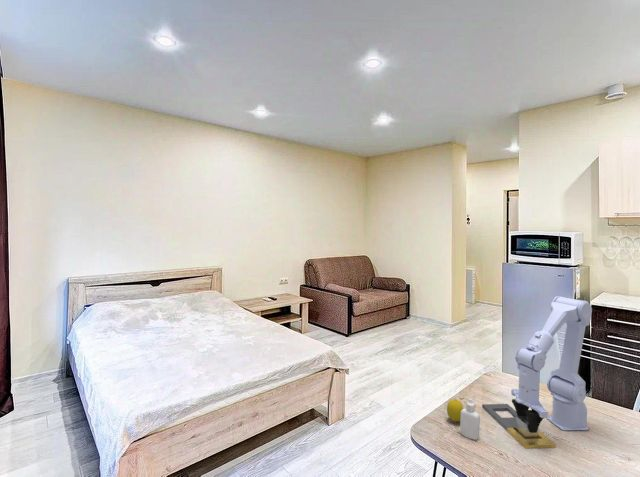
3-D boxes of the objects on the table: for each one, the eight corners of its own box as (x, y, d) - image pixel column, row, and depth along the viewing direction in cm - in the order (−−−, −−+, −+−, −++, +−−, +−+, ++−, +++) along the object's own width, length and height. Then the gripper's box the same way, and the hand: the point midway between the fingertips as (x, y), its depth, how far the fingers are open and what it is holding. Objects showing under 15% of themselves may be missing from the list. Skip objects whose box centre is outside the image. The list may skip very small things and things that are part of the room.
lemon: (465, 427, 114) (465, 404, 113) (448, 425, 115) (448, 402, 114) (461, 418, 119) (462, 396, 119) (445, 416, 120) (445, 394, 120)
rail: (507, 406, 128) (507, 403, 128) (555, 447, 104) (555, 444, 104) (482, 407, 127) (482, 404, 127) (525, 448, 103) (525, 445, 103)
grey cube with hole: (528, 430, 112) (529, 415, 111) (538, 438, 107) (538, 423, 107) (515, 430, 111) (516, 415, 111) (525, 439, 107) (525, 423, 107)
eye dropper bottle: (468, 429, 112) (469, 394, 112) (481, 439, 107) (482, 402, 107) (458, 431, 111) (459, 396, 111) (470, 442, 106) (471, 404, 105)
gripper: (503, 376, 116) (502, 415, 116) (532, 397, 101) (531, 441, 102) (522, 376, 116) (521, 414, 117) (554, 397, 102) (553, 441, 102)
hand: (527, 427), depth 109 cm, fingers closed on grey cube with hole, 4 cm apart
